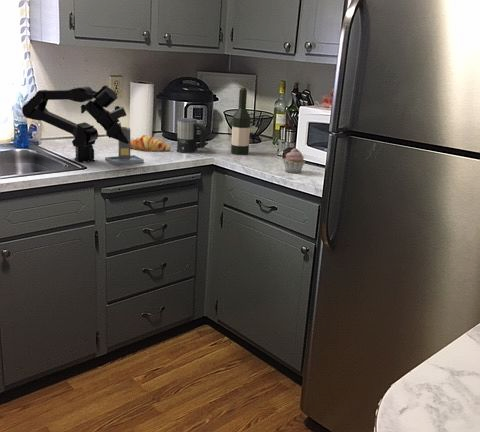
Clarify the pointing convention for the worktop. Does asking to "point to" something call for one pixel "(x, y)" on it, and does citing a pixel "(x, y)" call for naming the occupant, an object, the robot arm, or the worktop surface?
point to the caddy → (124, 145)
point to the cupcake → (294, 161)
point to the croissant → (148, 144)
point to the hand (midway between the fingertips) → (127, 141)
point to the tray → (124, 160)
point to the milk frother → (190, 135)
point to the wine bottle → (241, 127)
